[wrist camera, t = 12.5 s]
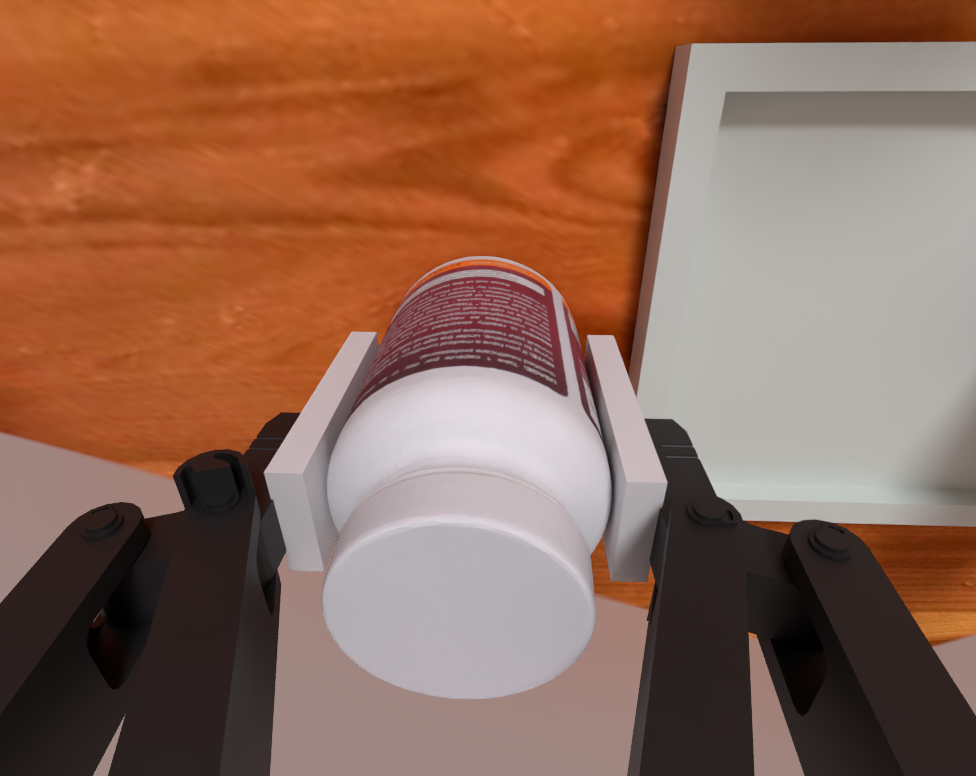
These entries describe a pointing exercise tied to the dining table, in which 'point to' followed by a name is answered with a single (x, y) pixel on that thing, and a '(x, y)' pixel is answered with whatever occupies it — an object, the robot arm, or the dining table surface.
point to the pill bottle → (469, 490)
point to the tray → (818, 278)
